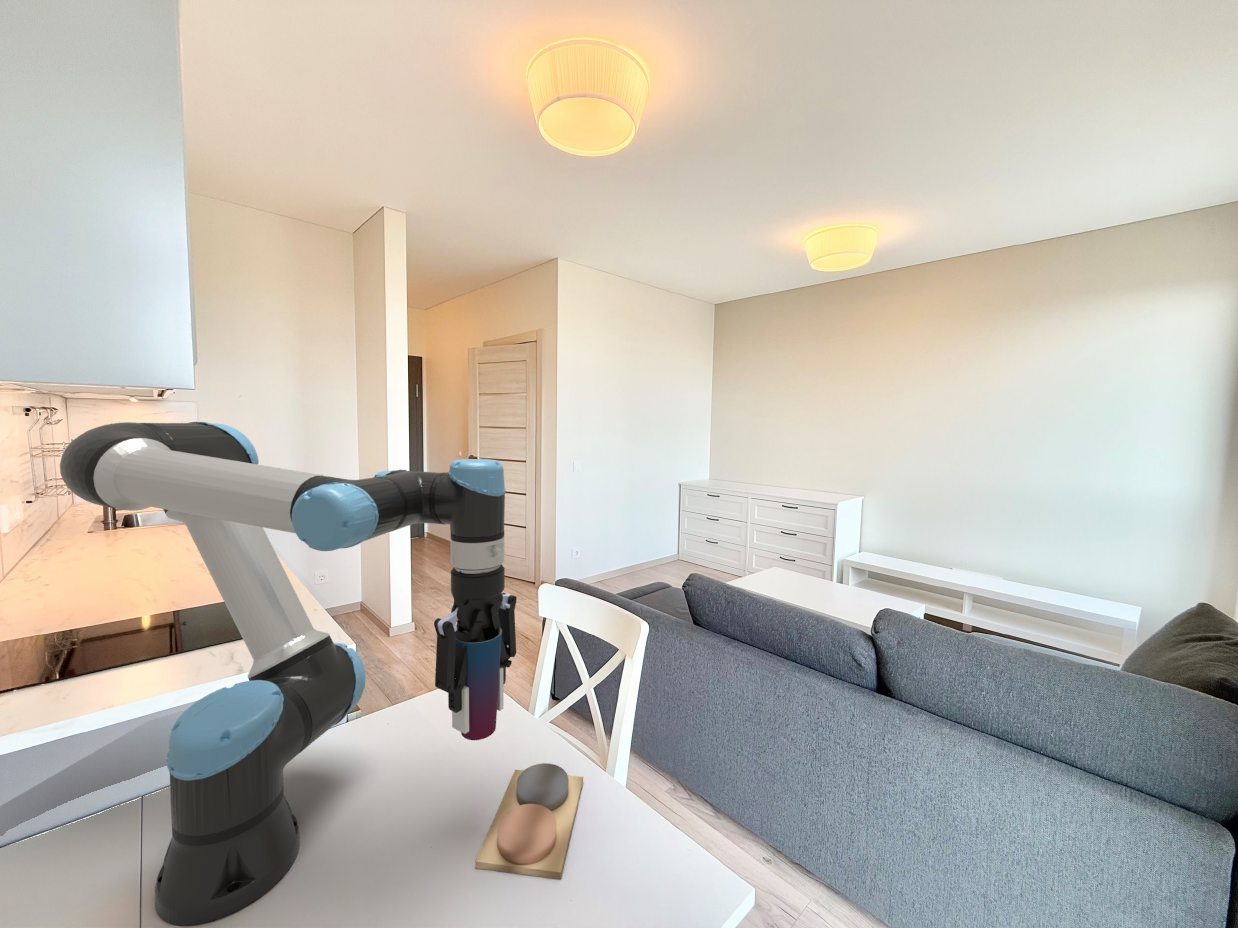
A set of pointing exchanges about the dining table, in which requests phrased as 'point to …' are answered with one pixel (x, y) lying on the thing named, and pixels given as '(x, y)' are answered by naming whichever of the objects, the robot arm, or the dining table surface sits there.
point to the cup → (482, 684)
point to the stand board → (561, 828)
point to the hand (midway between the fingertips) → (478, 717)
